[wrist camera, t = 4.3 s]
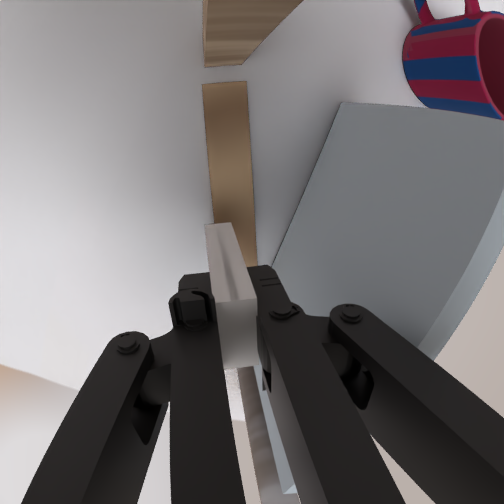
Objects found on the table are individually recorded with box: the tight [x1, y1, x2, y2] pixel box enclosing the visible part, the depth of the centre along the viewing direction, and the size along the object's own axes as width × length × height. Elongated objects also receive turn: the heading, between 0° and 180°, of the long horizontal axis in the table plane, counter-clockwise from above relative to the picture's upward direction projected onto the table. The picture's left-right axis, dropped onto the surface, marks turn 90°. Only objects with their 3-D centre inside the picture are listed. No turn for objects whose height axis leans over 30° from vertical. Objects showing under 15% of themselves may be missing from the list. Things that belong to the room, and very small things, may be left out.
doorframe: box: [202, 0, 303, 504], centre depth 14 cm, size 26×2×15 cm, turn 3°
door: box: [254, 103, 504, 494], centre depth 14 cm, size 16×3×13 cm, turn 159°
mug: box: [403, 0, 504, 121], centre depth 13 cm, size 7×10×7 cm
